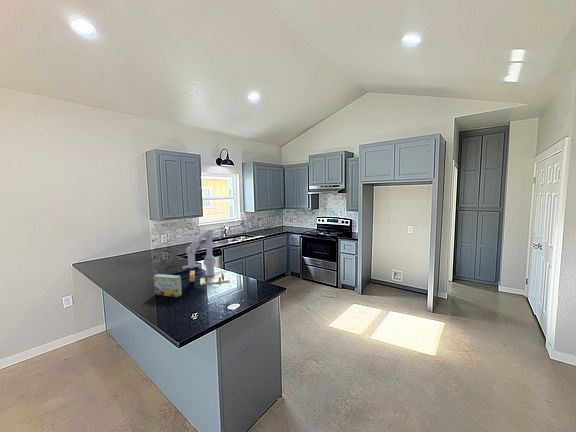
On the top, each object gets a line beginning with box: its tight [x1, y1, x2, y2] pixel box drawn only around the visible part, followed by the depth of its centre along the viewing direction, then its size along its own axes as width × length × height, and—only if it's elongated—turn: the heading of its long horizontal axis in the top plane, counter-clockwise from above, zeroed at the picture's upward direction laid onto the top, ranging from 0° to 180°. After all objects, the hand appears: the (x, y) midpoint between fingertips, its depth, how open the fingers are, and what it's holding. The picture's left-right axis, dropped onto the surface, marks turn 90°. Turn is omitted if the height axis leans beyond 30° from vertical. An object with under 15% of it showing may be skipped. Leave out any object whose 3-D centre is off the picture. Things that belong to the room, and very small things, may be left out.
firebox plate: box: [199, 273, 230, 286], centre depth 229 cm, size 16×24×5 cm, turn 108°
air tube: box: [188, 269, 196, 282], centre depth 224 cm, size 18×4×4 cm, turn 18°
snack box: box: [153, 273, 183, 298], centre depth 199 cm, size 21×6×15 cm, turn 73°
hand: (192, 276), depth 224 cm, fingers closed on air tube, 4 cm apart
